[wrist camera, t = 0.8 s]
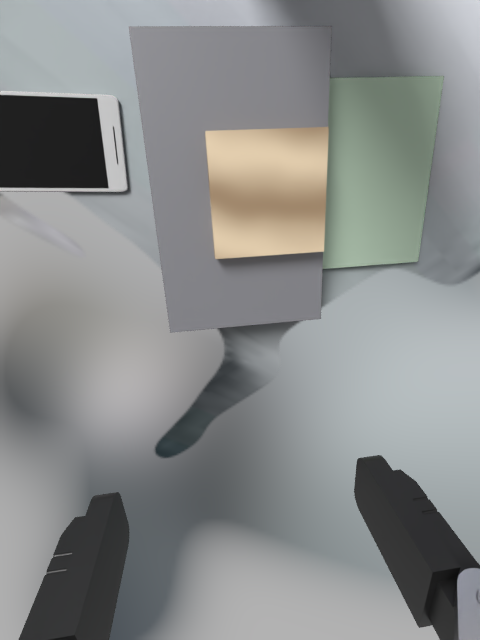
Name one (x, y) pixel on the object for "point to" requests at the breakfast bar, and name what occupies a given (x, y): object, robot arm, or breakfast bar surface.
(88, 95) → the smartphone
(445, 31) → the breakfast bar surface
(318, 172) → the cork coaster
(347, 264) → the sage mat
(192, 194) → the gray rectangular box
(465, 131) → the breakfast bar surface
